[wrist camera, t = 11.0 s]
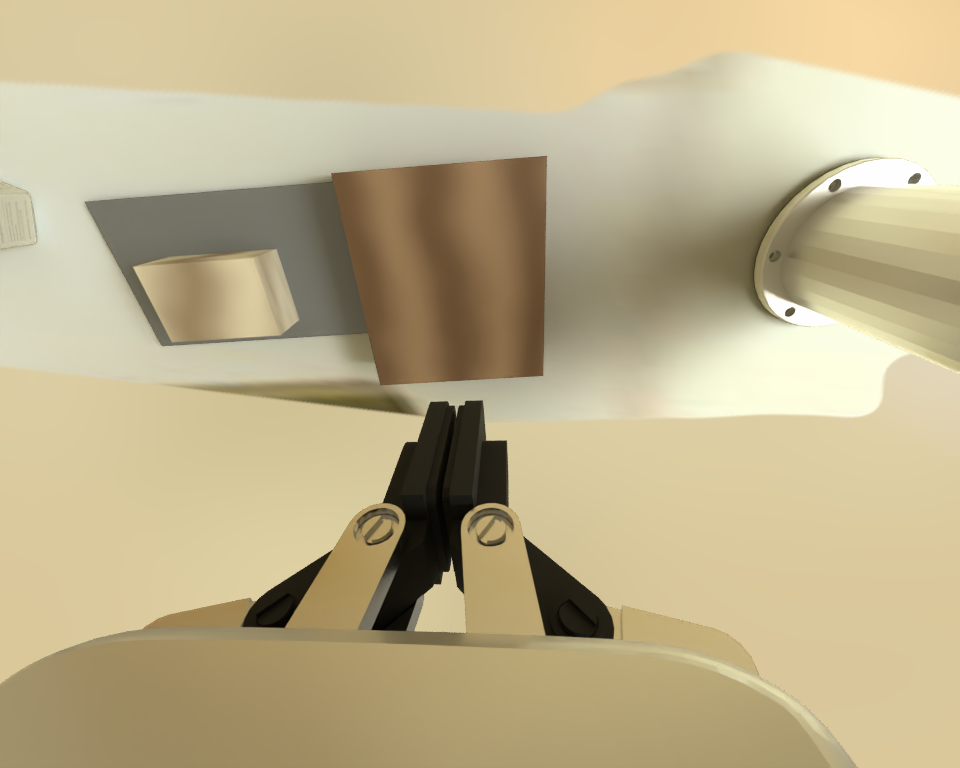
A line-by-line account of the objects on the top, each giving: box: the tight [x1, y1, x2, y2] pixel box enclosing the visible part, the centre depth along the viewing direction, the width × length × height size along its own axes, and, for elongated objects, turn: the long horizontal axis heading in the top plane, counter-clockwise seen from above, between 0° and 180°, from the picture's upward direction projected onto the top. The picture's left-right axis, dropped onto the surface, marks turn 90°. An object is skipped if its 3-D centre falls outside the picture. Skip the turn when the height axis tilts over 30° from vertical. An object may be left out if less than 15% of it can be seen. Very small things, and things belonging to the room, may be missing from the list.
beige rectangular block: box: [133, 249, 299, 342], centre depth 30 cm, size 9×6×4 cm, turn 94°
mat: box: [85, 182, 368, 346], centre depth 31 cm, size 20×12×1 cm, turn 94°
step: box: [331, 156, 547, 385], centre depth 30 cm, size 14×16×4 cm
